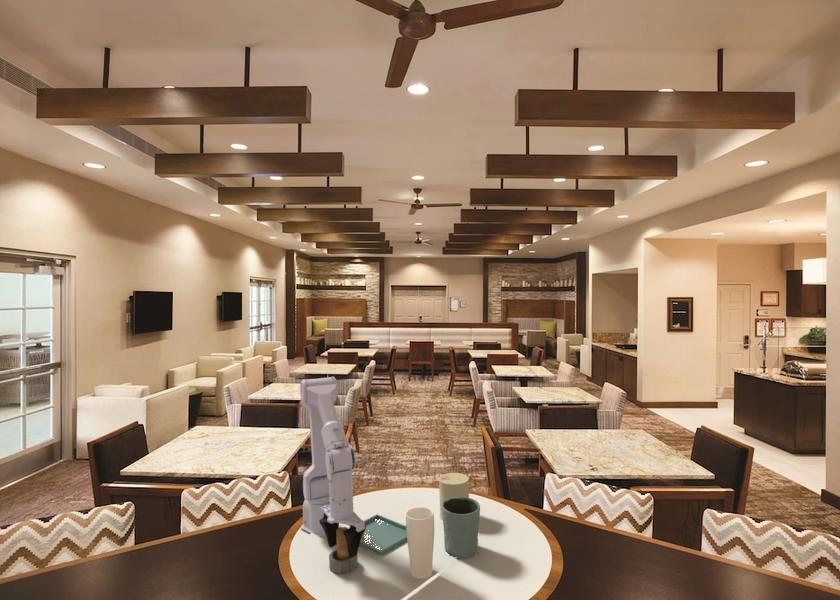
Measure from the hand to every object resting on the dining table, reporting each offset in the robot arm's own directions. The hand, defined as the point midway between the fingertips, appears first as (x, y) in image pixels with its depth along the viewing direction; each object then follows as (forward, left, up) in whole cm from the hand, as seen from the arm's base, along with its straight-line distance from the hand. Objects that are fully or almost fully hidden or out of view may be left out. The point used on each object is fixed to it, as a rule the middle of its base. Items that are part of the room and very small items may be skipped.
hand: (343, 550), depth 121 cm
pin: (0, 0, -4) cm, 4 cm away
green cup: (+18, +25, -5) cm, 31 cm away
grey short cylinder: (0, 0, -4) cm, 4 cm away
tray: (-4, +16, -4) cm, 17 cm away
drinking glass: (+17, +10, -5) cm, 20 cm away
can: (+5, +39, -5) cm, 40 cm away
